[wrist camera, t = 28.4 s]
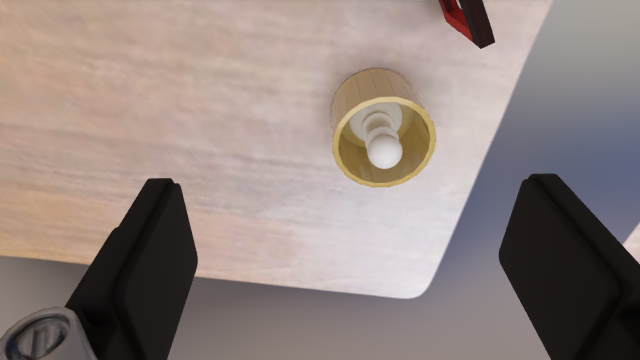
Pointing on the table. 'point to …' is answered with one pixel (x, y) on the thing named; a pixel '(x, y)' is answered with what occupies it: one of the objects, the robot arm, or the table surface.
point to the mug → (469, 20)
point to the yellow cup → (412, 132)
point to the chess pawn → (379, 132)
